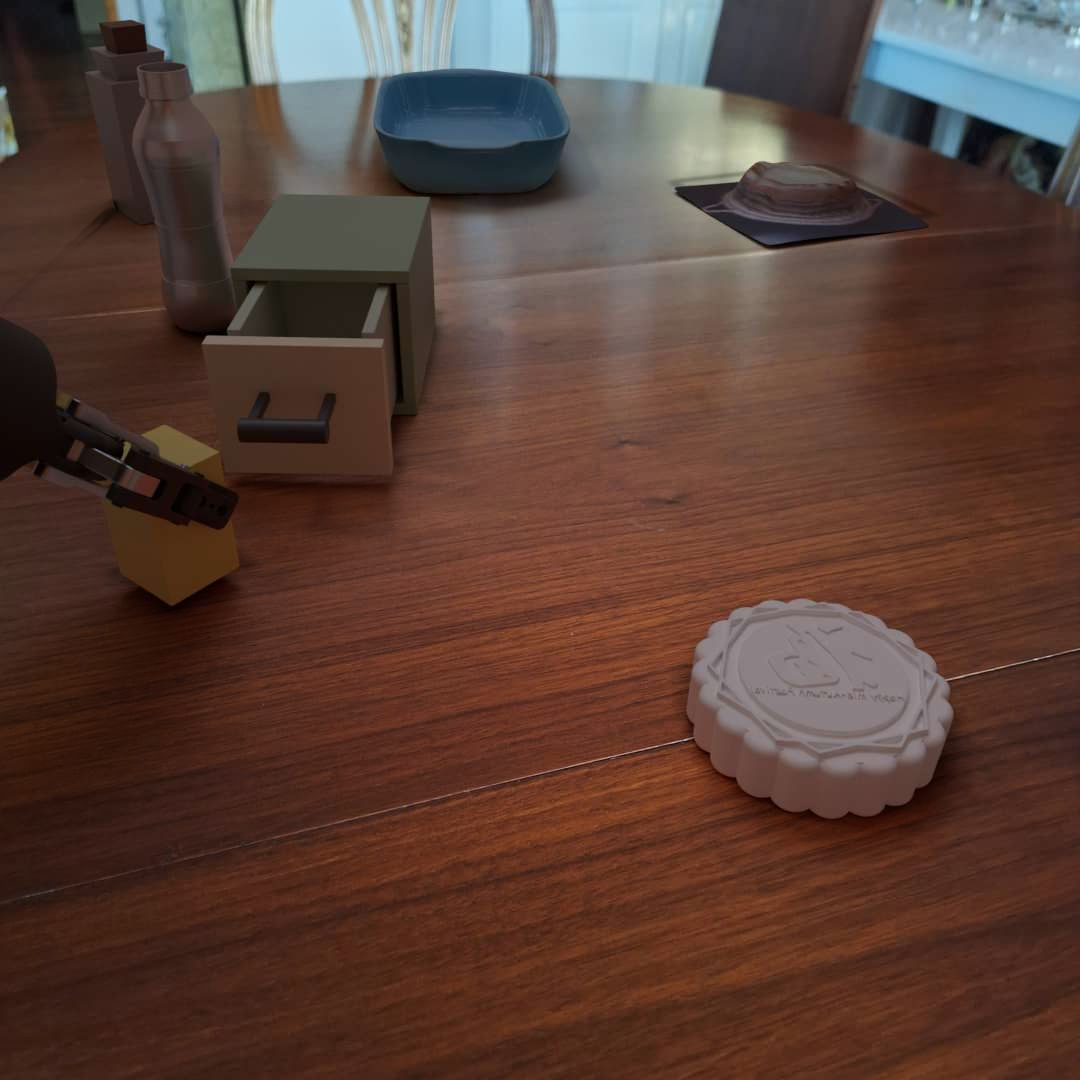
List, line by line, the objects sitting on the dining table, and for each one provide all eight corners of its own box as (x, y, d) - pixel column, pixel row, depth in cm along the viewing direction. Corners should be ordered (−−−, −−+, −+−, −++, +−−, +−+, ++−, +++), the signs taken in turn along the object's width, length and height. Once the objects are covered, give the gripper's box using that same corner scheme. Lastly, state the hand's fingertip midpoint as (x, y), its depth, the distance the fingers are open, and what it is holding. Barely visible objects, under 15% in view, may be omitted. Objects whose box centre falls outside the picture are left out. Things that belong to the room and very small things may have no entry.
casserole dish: (579, 207, 113) (582, 139, 109) (374, 209, 112) (368, 140, 107) (546, 122, 143) (547, 66, 139) (384, 123, 141) (380, 66, 137)
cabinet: (416, 415, 75) (408, 271, 68) (252, 412, 75) (229, 267, 68) (435, 325, 87) (430, 196, 81) (295, 322, 87) (279, 193, 81)
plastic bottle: (242, 305, 90) (202, 55, 78) (254, 336, 85) (213, 74, 73) (165, 314, 88) (112, 60, 77) (172, 347, 83) (117, 79, 71)
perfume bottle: (175, 196, 114) (141, 15, 103) (202, 212, 110) (169, 25, 99) (115, 208, 110) (73, 21, 100) (140, 225, 106) (99, 32, 96)
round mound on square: (767, 249, 104) (773, 209, 101) (670, 191, 119) (673, 155, 117) (933, 226, 111) (942, 188, 108) (821, 174, 126) (827, 140, 123)
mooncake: (907, 648, 55) (923, 595, 53) (968, 831, 45) (991, 774, 43) (680, 635, 55) (686, 582, 53) (692, 813, 46) (701, 757, 44)
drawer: (381, 519, 62) (370, 385, 57) (204, 515, 62) (176, 381, 57) (414, 373, 78) (408, 258, 73) (273, 370, 78) (257, 255, 73)
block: (171, 607, 55) (143, 488, 51) (119, 573, 57) (88, 457, 53) (240, 566, 58) (220, 451, 54) (188, 536, 60) (164, 423, 56)
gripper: (43, 336, 38) (319, 477, 53) (-142, 246, 45) (148, 393, 60) (-53, 517, 38) (252, 608, 53) (-225, 398, 45) (88, 509, 60)
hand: (195, 493), depth 56 cm, fingers closed on block, 4 cm apart
